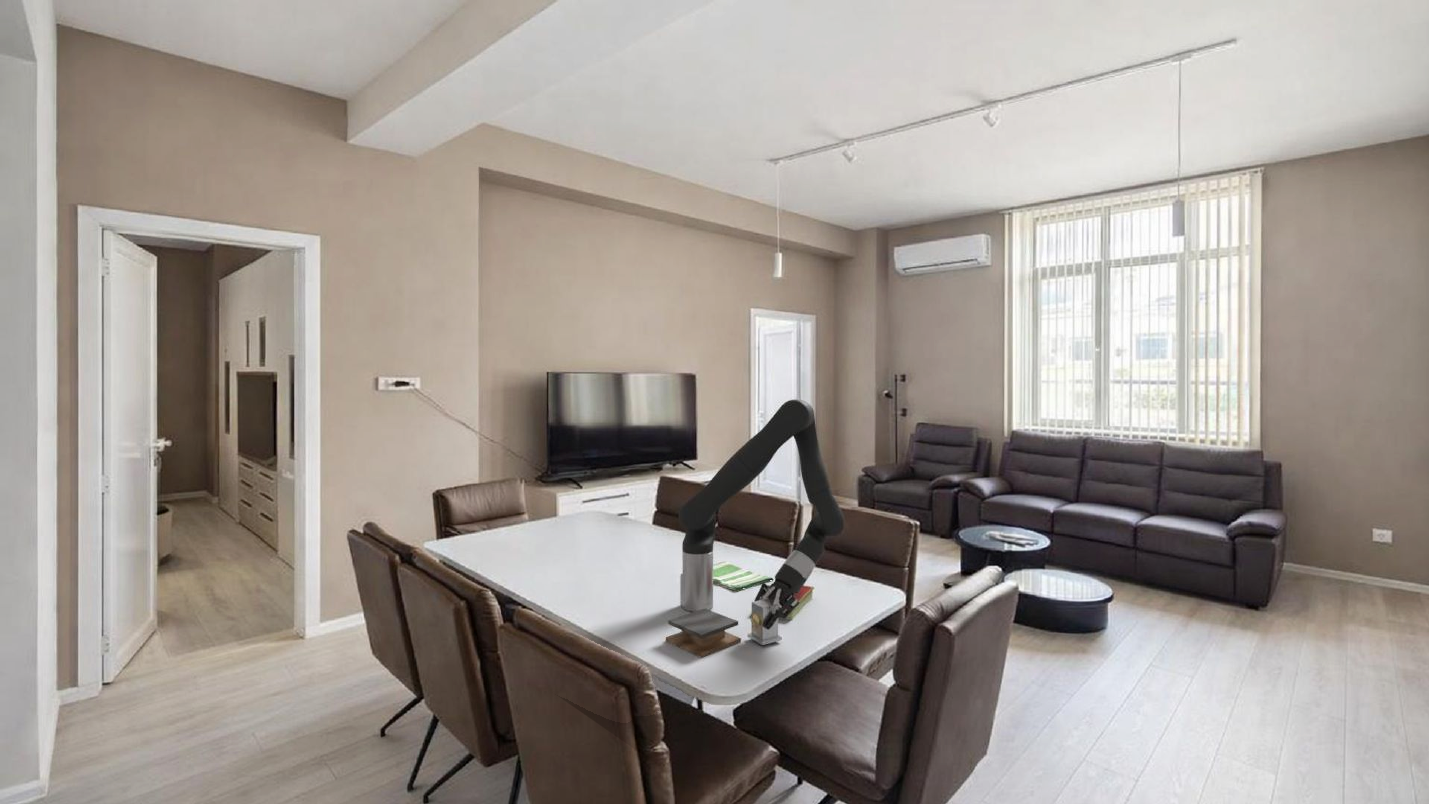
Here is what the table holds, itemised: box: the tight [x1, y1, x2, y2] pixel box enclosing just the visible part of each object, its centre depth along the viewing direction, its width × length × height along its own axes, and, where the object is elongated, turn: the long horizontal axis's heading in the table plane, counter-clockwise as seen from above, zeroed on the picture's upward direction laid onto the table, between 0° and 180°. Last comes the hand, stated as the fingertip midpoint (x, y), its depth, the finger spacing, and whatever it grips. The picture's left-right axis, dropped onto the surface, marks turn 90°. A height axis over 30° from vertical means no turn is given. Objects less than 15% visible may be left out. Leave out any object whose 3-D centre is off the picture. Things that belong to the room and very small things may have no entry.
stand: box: [665, 608, 742, 658], centre depth 174 cm, size 14×14×6 cm
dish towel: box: [713, 560, 774, 592], centre depth 227 cm, size 18×23×3 cm
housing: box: [747, 599, 783, 646], centre depth 174 cm, size 6×7×9 cm
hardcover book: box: [760, 584, 815, 621], centre depth 200 cm, size 12×21×4 cm, turn 155°
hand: (759, 624), depth 173 cm, fingers closed on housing, 5 cm apart
